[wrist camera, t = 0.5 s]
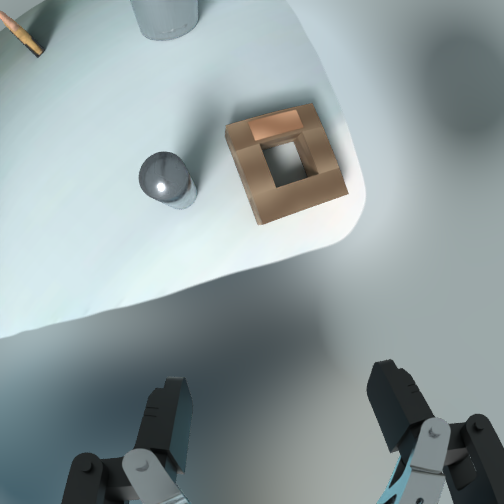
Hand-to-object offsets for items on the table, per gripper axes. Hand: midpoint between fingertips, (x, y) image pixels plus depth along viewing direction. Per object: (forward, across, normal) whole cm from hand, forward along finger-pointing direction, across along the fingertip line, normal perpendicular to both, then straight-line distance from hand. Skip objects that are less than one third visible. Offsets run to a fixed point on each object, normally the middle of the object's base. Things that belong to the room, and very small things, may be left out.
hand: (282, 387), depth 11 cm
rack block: (+28, -4, -6) cm, 29 cm away
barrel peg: (+26, +9, -4) cm, 28 cm away
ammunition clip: (+33, +39, -36) cm, 62 cm away
